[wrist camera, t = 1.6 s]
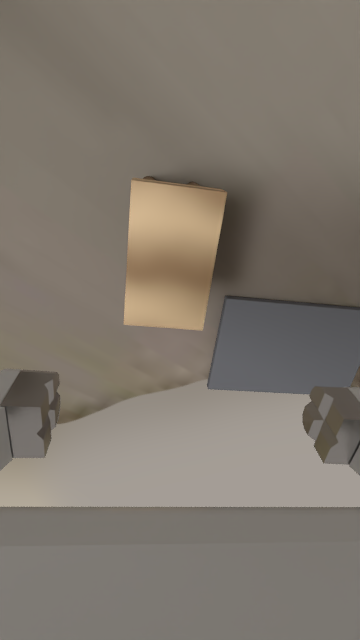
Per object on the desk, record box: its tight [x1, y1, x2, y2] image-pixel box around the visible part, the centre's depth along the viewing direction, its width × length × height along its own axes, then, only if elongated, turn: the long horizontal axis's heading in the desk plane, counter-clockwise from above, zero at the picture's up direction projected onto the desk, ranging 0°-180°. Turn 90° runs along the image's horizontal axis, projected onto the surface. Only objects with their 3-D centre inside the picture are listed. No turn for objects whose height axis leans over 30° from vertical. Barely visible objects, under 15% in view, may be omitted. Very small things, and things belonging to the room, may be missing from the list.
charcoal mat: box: [207, 296, 360, 394], centre depth 38 cm, size 18×12×1 cm, turn 83°
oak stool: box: [124, 176, 227, 330], centre depth 27 cm, size 10×6×10 cm, turn 173°
